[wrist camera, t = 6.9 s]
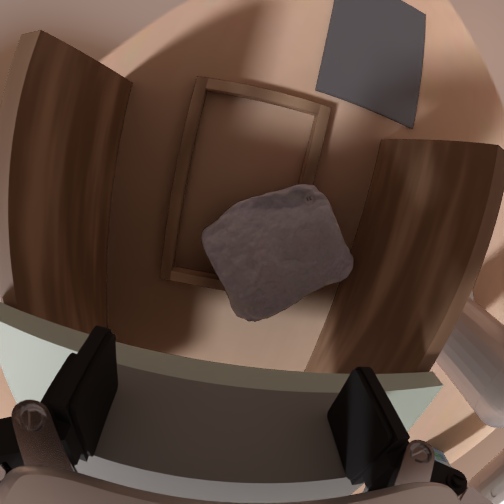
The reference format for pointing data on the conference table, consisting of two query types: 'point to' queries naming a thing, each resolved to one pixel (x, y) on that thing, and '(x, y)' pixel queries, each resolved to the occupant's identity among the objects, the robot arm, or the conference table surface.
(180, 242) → the conference table surface
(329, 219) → the stone block
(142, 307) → the conference table surface
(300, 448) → the lid
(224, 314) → the conference table surface
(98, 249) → the well frame
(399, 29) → the mat
